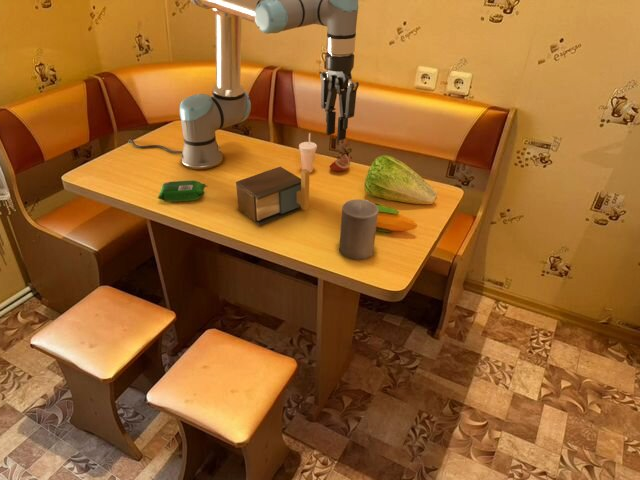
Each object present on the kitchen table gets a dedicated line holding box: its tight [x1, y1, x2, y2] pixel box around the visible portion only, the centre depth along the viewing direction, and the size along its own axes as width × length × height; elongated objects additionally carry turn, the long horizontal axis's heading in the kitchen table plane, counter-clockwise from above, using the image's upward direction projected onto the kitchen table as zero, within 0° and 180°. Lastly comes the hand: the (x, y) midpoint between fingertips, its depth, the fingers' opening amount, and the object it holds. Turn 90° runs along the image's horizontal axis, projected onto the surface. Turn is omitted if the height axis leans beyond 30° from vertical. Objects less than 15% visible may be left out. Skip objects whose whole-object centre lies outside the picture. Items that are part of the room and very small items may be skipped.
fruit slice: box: [329, 153, 351, 172], centre depth 177 cm, size 8×7×5 cm
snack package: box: [157, 180, 208, 203], centre depth 163 cm, size 7×16×5 cm, turn 94°
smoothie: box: [298, 132, 318, 174], centre depth 175 cm, size 6×6×14 cm
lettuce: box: [363, 154, 438, 205], centre depth 158 cm, size 14×23×14 cm
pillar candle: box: [338, 198, 378, 261], centre depth 135 cm, size 10×10×15 cm
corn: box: [374, 203, 418, 233], centre depth 146 cm, size 7×8×20 cm
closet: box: [235, 166, 303, 227], centre depth 155 cm, size 12×17×10 cm
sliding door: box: [280, 169, 310, 214], centre depth 150 cm, size 5×8×14 cm, turn 126°
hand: (335, 136), depth 147 cm, fingers open, 4 cm apart
